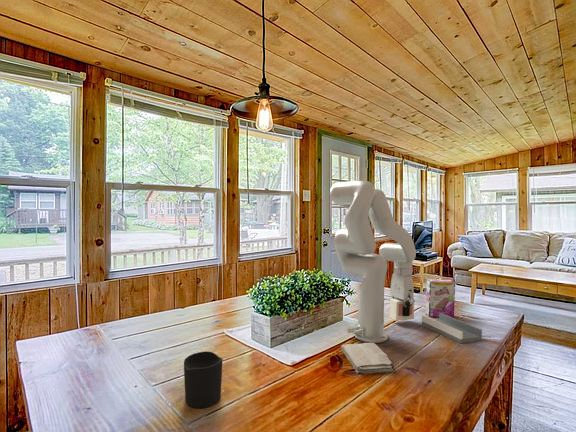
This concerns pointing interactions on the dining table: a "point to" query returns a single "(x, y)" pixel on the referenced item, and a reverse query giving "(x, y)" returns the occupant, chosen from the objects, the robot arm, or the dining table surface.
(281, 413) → the dining table surface
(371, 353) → the washcloth
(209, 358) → the pen holder
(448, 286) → the candy bar box
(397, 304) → the product box
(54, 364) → the dining table surface
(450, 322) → the shelf
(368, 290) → the robot arm
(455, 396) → the dining table surface
